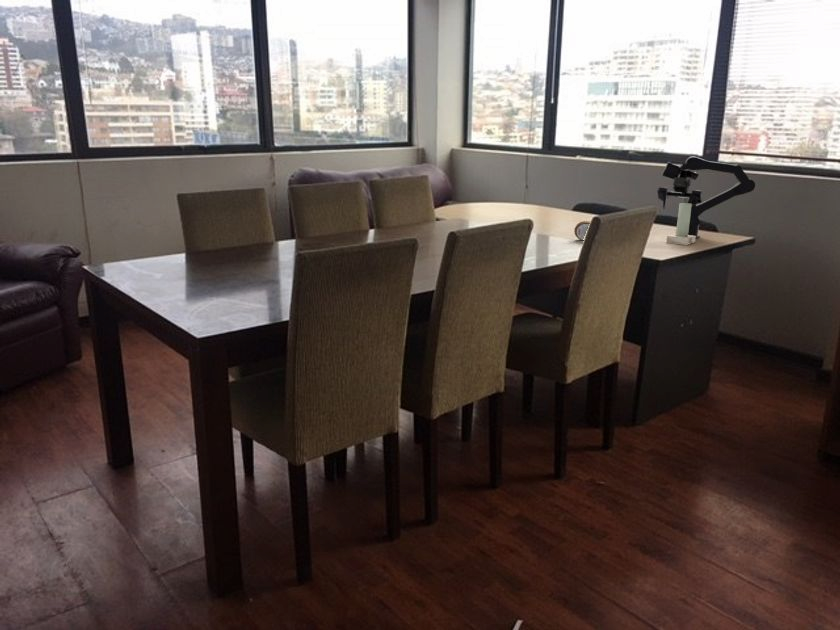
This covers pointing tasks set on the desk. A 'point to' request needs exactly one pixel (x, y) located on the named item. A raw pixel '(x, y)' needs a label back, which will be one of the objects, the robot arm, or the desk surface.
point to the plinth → (680, 239)
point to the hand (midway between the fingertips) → (674, 209)
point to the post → (683, 219)
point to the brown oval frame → (581, 229)
